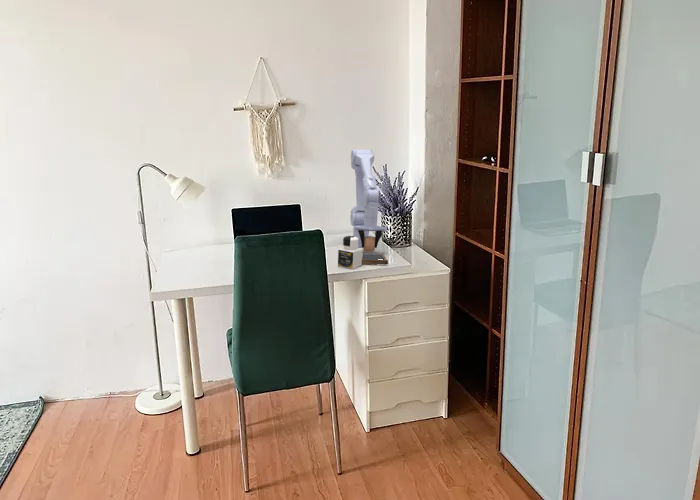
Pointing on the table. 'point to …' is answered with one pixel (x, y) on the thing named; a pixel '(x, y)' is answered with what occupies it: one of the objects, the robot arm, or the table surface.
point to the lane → (375, 261)
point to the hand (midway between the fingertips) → (369, 247)
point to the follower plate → (371, 256)
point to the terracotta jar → (369, 244)
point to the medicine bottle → (350, 253)
